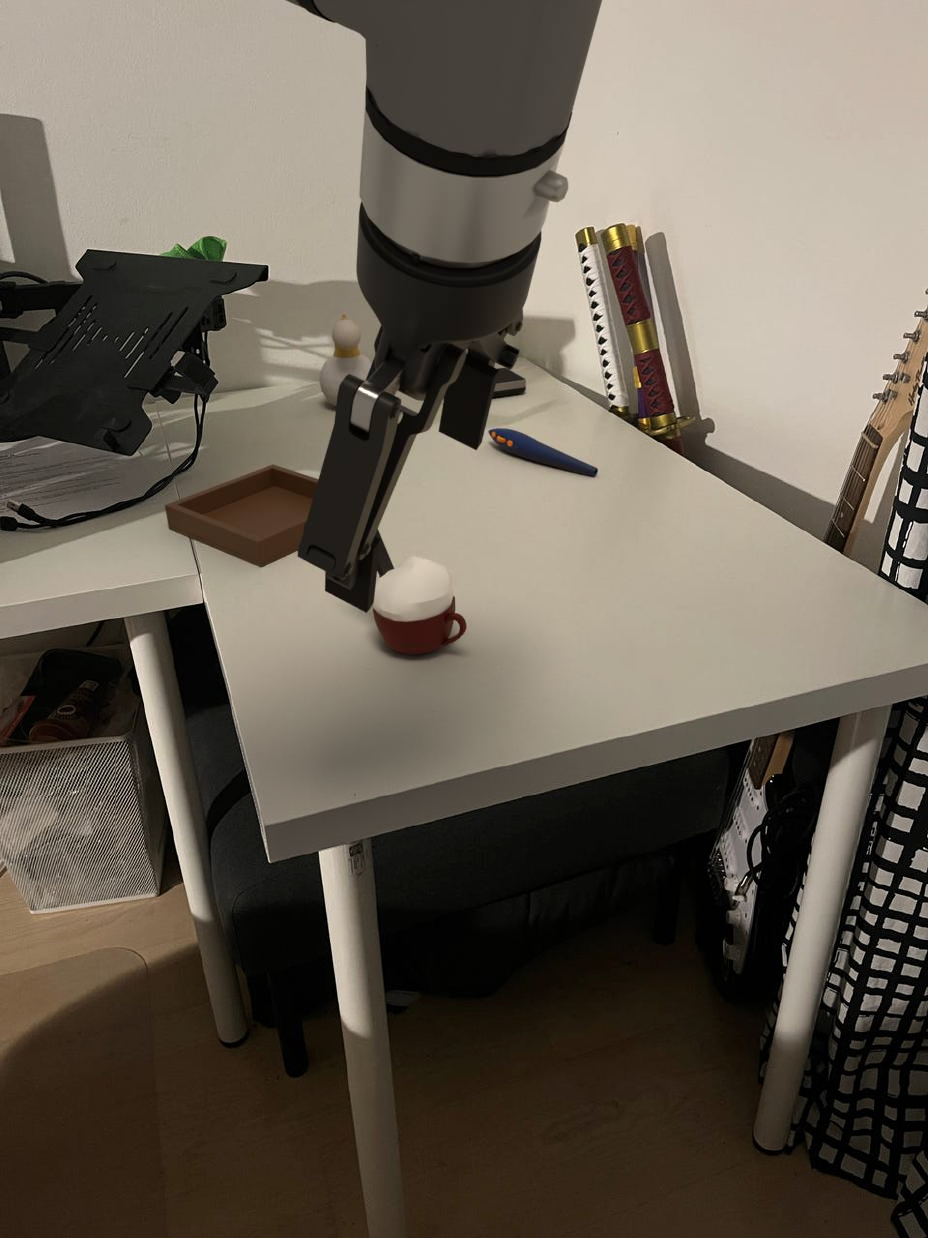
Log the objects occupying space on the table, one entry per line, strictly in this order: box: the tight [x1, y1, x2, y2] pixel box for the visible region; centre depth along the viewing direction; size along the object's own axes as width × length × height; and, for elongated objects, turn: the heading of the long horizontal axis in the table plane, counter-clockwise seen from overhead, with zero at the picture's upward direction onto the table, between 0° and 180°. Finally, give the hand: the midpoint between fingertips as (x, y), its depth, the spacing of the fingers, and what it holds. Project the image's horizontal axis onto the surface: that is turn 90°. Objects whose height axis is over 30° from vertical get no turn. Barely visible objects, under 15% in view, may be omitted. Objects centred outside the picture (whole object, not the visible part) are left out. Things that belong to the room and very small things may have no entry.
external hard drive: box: [444, 367, 527, 398], centre depth 130 cm, size 7×11×2 cm, turn 113°
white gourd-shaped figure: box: [319, 314, 373, 407], centre depth 123 cm, size 8×10×12 cm
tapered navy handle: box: [487, 427, 599, 477], centre depth 108 cm, size 16×4×2 cm, turn 46°
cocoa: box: [371, 528, 467, 656], centre depth 72 cm, size 10×6×12 cm, turn 34°
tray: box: [164, 464, 319, 568], centre depth 94 cm, size 14×14×2 cm
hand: (407, 512), depth 57 cm, fingers open, 13 cm apart
